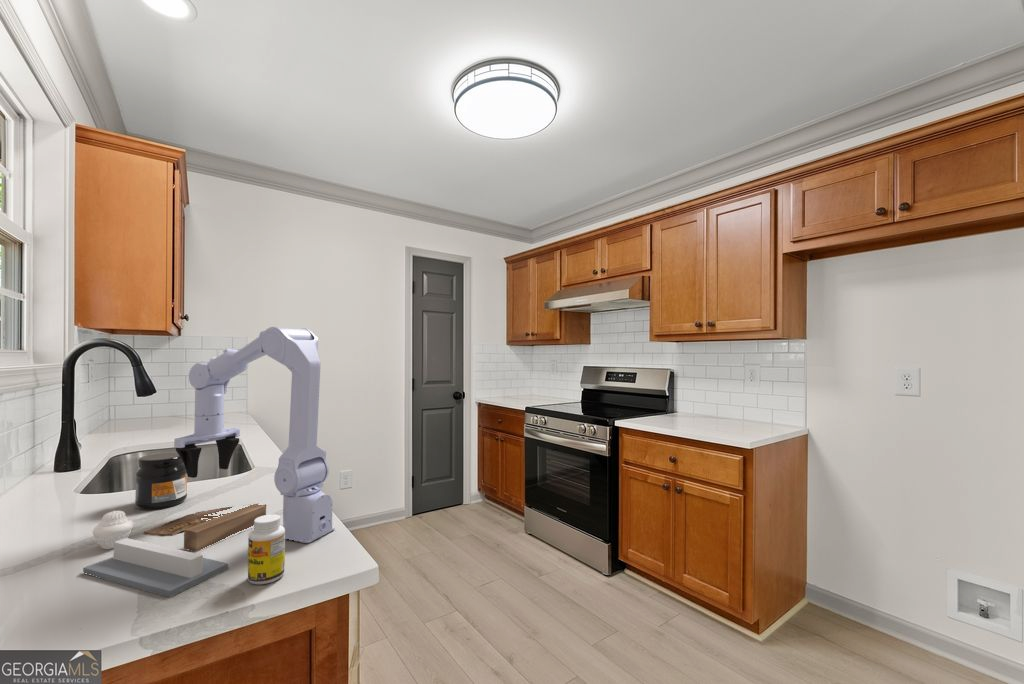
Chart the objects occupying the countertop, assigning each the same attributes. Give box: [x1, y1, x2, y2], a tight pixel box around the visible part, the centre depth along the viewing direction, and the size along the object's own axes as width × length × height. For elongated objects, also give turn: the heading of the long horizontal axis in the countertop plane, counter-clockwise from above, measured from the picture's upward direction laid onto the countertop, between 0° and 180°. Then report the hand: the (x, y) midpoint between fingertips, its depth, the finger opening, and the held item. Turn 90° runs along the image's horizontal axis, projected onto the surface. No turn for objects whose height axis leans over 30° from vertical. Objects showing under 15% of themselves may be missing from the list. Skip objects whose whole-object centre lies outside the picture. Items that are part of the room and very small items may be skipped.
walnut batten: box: [183, 503, 267, 552], centre depth 97 cm, size 4×16×4 cm, turn 160°
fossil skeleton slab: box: [142, 506, 233, 537], centre depth 107 cm, size 26×11×1 cm, turn 138°
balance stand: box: [82, 537, 229, 598], centre depth 81 cm, size 22×10×4 cm, turn 70°
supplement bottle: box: [247, 514, 286, 586], centre depth 79 cm, size 6×6×10 cm
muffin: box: [92, 510, 134, 550], centre depth 91 cm, size 6×6×7 cm
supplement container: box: [134, 451, 188, 511], centre depth 116 cm, size 10×10×12 cm
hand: (208, 472), depth 108 cm, fingers open, 7 cm apart
